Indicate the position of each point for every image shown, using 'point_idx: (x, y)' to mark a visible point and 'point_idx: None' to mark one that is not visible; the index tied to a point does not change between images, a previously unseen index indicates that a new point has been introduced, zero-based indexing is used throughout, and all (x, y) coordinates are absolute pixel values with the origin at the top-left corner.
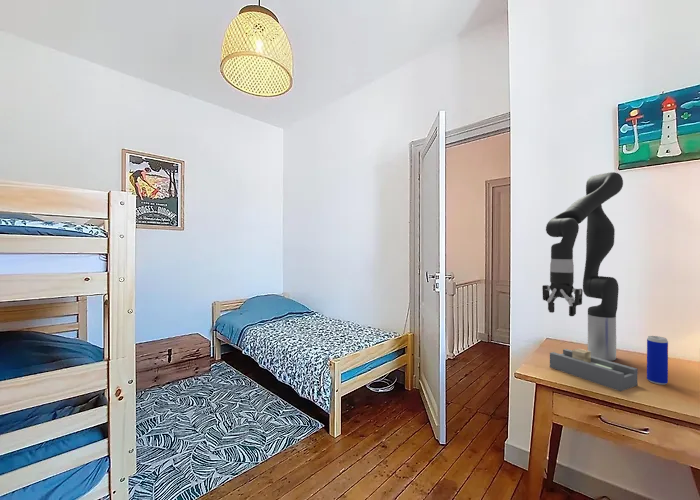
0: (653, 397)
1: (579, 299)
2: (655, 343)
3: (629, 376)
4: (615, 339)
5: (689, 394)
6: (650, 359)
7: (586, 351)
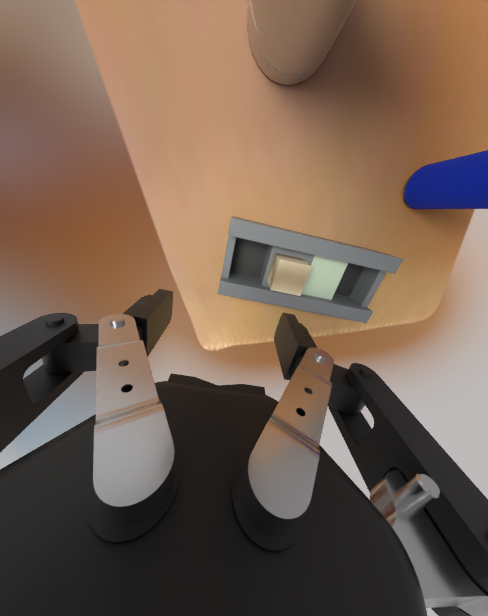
0: (394, 292)
1: (381, 411)
2: None
3: (376, 288)
4: None
5: (462, 223)
6: (459, 204)
7: (302, 274)
